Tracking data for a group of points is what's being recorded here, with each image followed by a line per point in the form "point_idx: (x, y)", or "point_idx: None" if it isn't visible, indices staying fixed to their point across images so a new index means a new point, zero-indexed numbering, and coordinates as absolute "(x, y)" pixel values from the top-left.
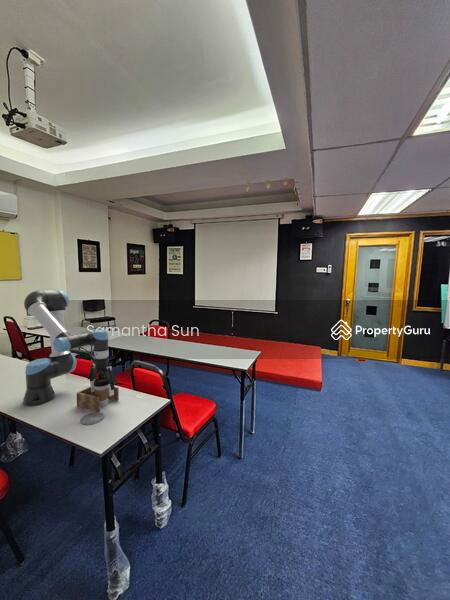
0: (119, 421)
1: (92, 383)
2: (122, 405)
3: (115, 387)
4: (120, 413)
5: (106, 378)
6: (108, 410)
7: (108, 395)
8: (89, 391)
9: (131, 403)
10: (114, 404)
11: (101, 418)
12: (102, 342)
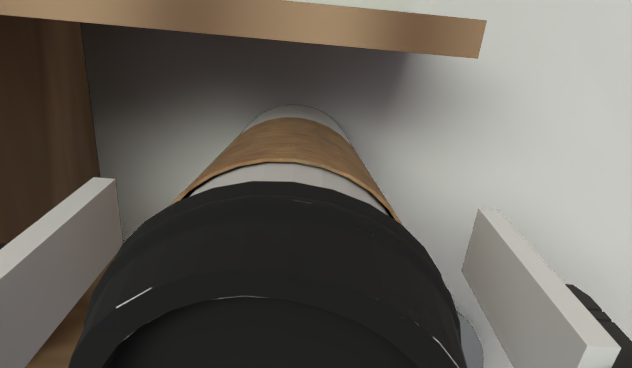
0: (629, 331)
1: (37, 339)
2: (531, 109)
3: (423, 44)
4: (584, 241)
5: (293, 287)
6: (440, 234)
7: (356, 153)
8: (22, 189)
9: (620, 31)
10: (427, 119)
11: (475, 359)
12: None
